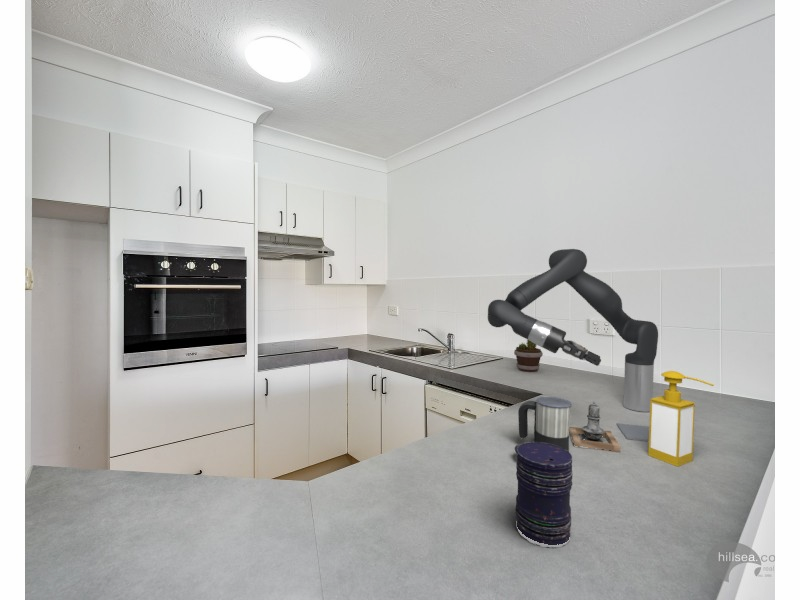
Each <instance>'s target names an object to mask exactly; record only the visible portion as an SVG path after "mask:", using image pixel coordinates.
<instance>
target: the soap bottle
mask: <svg viewBox="0 0 800 600" xmlns="http://www.w3.org/2000/svg"><path fill="white" fill-rule="evenodd" d="M660 375H661V376H662V377H663V378H664V379H663V381H664V382H665V383H666V382H667V383H668V384H669V386H668V388H667V389H664V395H661V396H657V397H653V398H652V399H650V400H651V401H650V411H649V426H648V427H649V442H648V452H647V453H648V456H649V457H651V458H655V459H657V460H659V461H662V462H665V463H667V464H670V465H673V466H675V467H681V466H682V465H685V464H688V463H691V462H693V461H694V459H693V458H694V436H695V435H694V433H695V410H696V409H695V408H696V402H695V401H690V400H686V399H682V392H681V391H680V390H677V387H678V386H677V384H682V383H683V380H684V379H687V380H692V381H697V382H700V383H703V384H706V385H709V386H711V387H714V386H715V384H714V383H711V382H708V381H705V380H702V379H698V378H695V377H691V376H686V375H684V374H683V373H681V372H679V371H676V370H675V371H674V370H667V371H664V372H662V373H661V374H660Z"/></svg>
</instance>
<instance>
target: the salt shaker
mask: <svg viewBox="0 0 800 600" xmlns="http://www.w3.org/2000/svg"><path fill="white" fill-rule="evenodd" d="M586 417H587V425H584V426H582V427H581V428H582V429H583V431H584V434H585V435H584V436H586V437H584V438H585V440H586V441H594V442H603V440H602V438H603V437H602V436H603V433H604V432H605V431H606V430H605V429H602V428H601V427H600V426H601V425H600V420H601V419H602V418H601V416H600V406H599V405H598V404H597V403H596V402H595V401H593V402H592V403H591V404H589V405H588V415H586ZM604 430H605V431H604Z"/></svg>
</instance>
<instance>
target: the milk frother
mask: <svg viewBox="0 0 800 600" xmlns="http://www.w3.org/2000/svg"><path fill="white" fill-rule="evenodd" d="M571 407H573V403H572V402H571V401H570V400H568V399H565V398H561V397H558V396H557V397H555V396H549V395H548V396H545V395H544V396H543V395H542V396H537V397H536V398H535V400H528V401H525V402H523V403H522V404H521V405H520V406H519V408H518V413H517V414H518V434H519V435H518V436H519V438H520V439H522V440H523V439H526V438H527V437H528V435H529V434H528V433H529V429H528V427H529V426H528V422H529V421H528V410H533V411H534V426H533V427H534V429H533V430H534V431H533V442H542V443H548V444H553V445H556V446H559V447H561V448H563V449H565V450H567V451H568V452H569V453H570V451H569V450H570V433H569V427H571V426H570V425H571V423H570V421H571ZM519 445H520V444H517V445H515V446H514V451H515V453H516V454H517V448H518V446H519Z"/></svg>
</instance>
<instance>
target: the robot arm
mask: <svg viewBox="0 0 800 600" xmlns="http://www.w3.org/2000/svg"><path fill="white" fill-rule="evenodd" d="M587 264H588V257H587V255H586V253H585V252H584V251H583V250H580V249H577V248H567V249H558V250H555V251H553V252H552V253H551V254H550V255H549V257H548V266H549V268H550V269H548V270H546V271H544V272H542V273H541V274H538V275H536V276H534V277H531V278H529V279H528V280H525V281H524V282H522V283H521V284H519V285H518V286H517V287H515V288H514V289H512V290H511V291H510V292H509V293H508V294H507V297H506V298H505V299H494V300H492V301H491V302H490V303H489V305H488V306H487V307H488V308H487V322H488V323H489V324H490V326H491V327H494V328H503V327H505V326H506V325H508V326H509V327H511V329H512V331H513V333H514V334H516V335H518V336H519V337H521V338H523V339H525V340H530V341H531V342H533V343H534V344H536V346H538V347H540V348H543V349H545V350H546V351H549V352H551V353H553V354H556V353H558V351H559V349H561V351H562V352H564V353H565V354H567V355H570V356H572V357H574V358H576V359H579V360H582V361H586V362H588V363H590V364H592V365H594V366H596V367H598V366H600V364H601V362H602V359H601V356H600V355H599V354H596V353H594V352H592V351H590V350H588V349H587V348H586V347H584V346H583V345H581V344H579V343H577V342H575V341H573V340H566V339H565V337H566V336H567V331H565V330H562V329H560V328H558V327H556V326H554V325H551V324H550V323H547V322H545V321H543V320H539V319H537V318H535V317H532V316H530V315H528V314H526V313H525V312H523V311H522V310H524V308H527V307H528V306H529V305H530V304H532V303H533V302H534V301H536V300H537V299H539V298H540V297H541V296H543V295H544V294H546V293H547V292H549V291H551V290H552V289H553V288H555V287H557V286H559V285H561V284H563V283H564V282H565V283H566V284H568V285H569V286H570V287H571V288H572V289H573V290H574V291H575V292H576V293H578V295H580V297H582V298H583V300H585V301H586V302H587V303H588V305H590V307H592V308H593V309H594V310H595V311H596V312H597V313H598V314H599V315H601V317H602V318H603V319H604V320H605V321H606V322H607V323H609V324H610V326H612V327H613V329H614V330H615V332H616V333H617V334H618V335H619V337H620V338H621V339H622V340H624V341H625V342H626V343H628V344H633V345H636V347H635V351H632V352H629V353H626V354H625V355H624V356H625V357H624V382H623V383H624V384H623V407H624V408H625V409H628V410H631V411H636V412H642V413H643V412H645V413H647V412H649V413H650V401H651V400H650V399H652V398H654V371H655V370H654V369H655V359H656V357H657V353H658V351H657V350H658V343H659V329H658V326H657V325H656V324H655V323H654V322H652V321H650V320H640V319H634V318H632V317H630V316H629V315H628V314H627V313H626V312H625V311H624V309H623V301H622V298H621V297H620V295H619V294H618V293H617V292H616V291H615V289H613V288H612V287H611V286H610V285H609V284H608V283H606V282H605V281H602V280H601V279H599V278H597V277H595V276H593V275H591V274H589V273H588V272H587V271H584V270H585V269H586V267H587V266H588V265H587Z"/></svg>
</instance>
